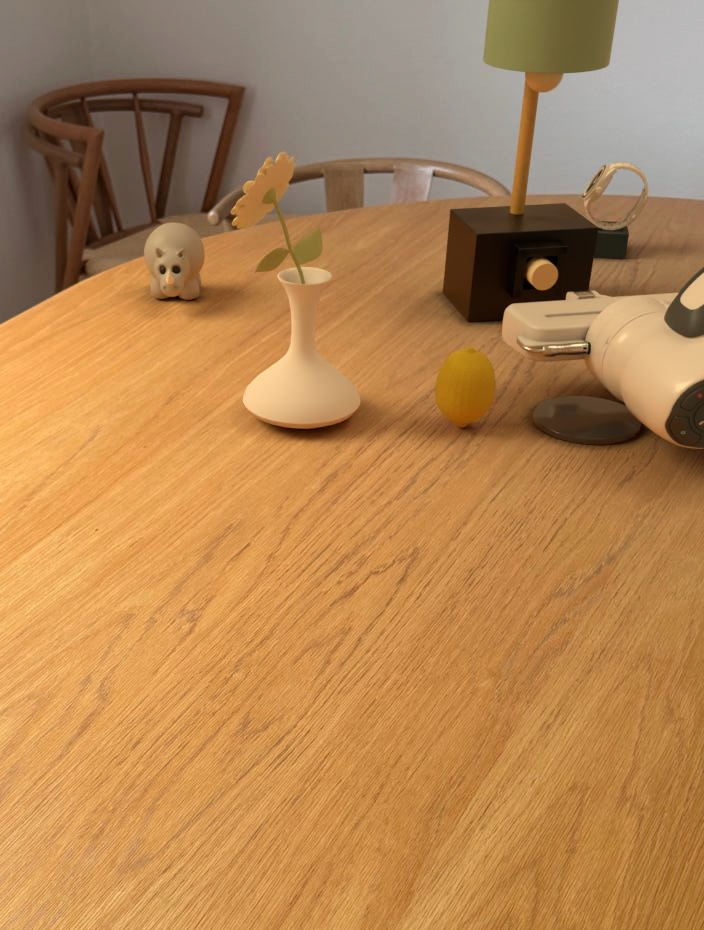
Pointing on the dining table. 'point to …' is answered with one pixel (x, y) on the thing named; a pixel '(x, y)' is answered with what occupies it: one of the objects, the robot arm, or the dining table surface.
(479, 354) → the lemon
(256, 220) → the flower in vase
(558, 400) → the coaster
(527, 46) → the desk lamp
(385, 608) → the dining table surface
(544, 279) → the lamp switch
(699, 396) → the robot arm
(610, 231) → the watch
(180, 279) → the round bodied animal figurine
